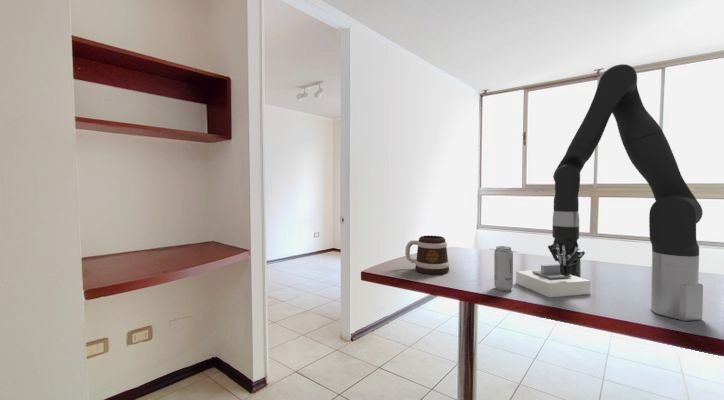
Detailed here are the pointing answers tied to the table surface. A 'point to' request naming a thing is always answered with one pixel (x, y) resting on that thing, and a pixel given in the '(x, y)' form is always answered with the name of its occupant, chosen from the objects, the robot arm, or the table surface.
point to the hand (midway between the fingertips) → (565, 275)
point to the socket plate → (553, 284)
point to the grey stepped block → (550, 271)
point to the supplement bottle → (576, 269)
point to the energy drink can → (503, 268)
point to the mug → (430, 255)
